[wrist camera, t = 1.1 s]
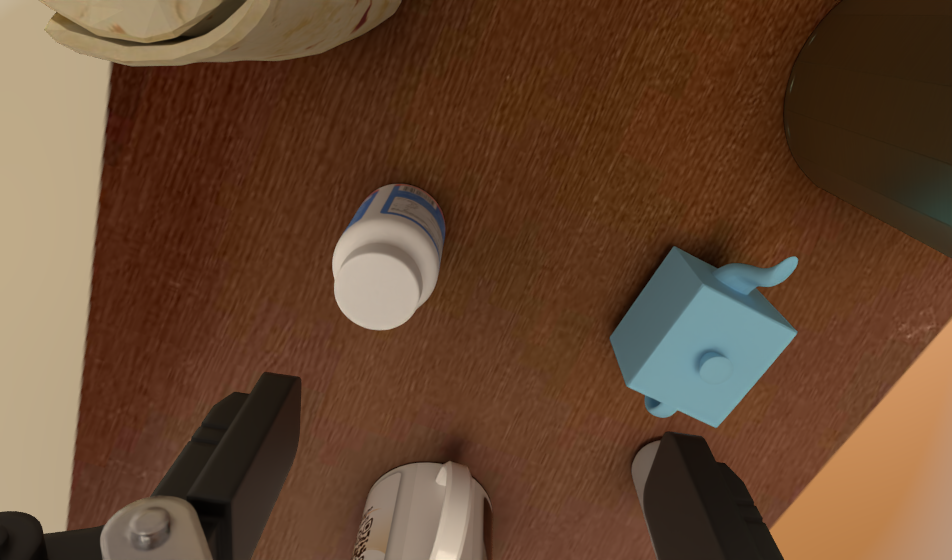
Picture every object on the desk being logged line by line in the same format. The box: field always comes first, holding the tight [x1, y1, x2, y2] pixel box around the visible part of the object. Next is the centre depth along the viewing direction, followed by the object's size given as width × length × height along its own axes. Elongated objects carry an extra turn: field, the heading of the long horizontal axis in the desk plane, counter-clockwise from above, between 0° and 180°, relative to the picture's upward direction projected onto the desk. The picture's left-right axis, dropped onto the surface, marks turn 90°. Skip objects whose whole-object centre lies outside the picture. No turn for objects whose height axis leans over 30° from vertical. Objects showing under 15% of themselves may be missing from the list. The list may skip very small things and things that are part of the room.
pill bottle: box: [332, 184, 445, 330], centre depth 32 cm, size 6×5×10 cm
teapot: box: [610, 246, 798, 428], centre depth 34 cm, size 12×6×8 cm, turn 153°
